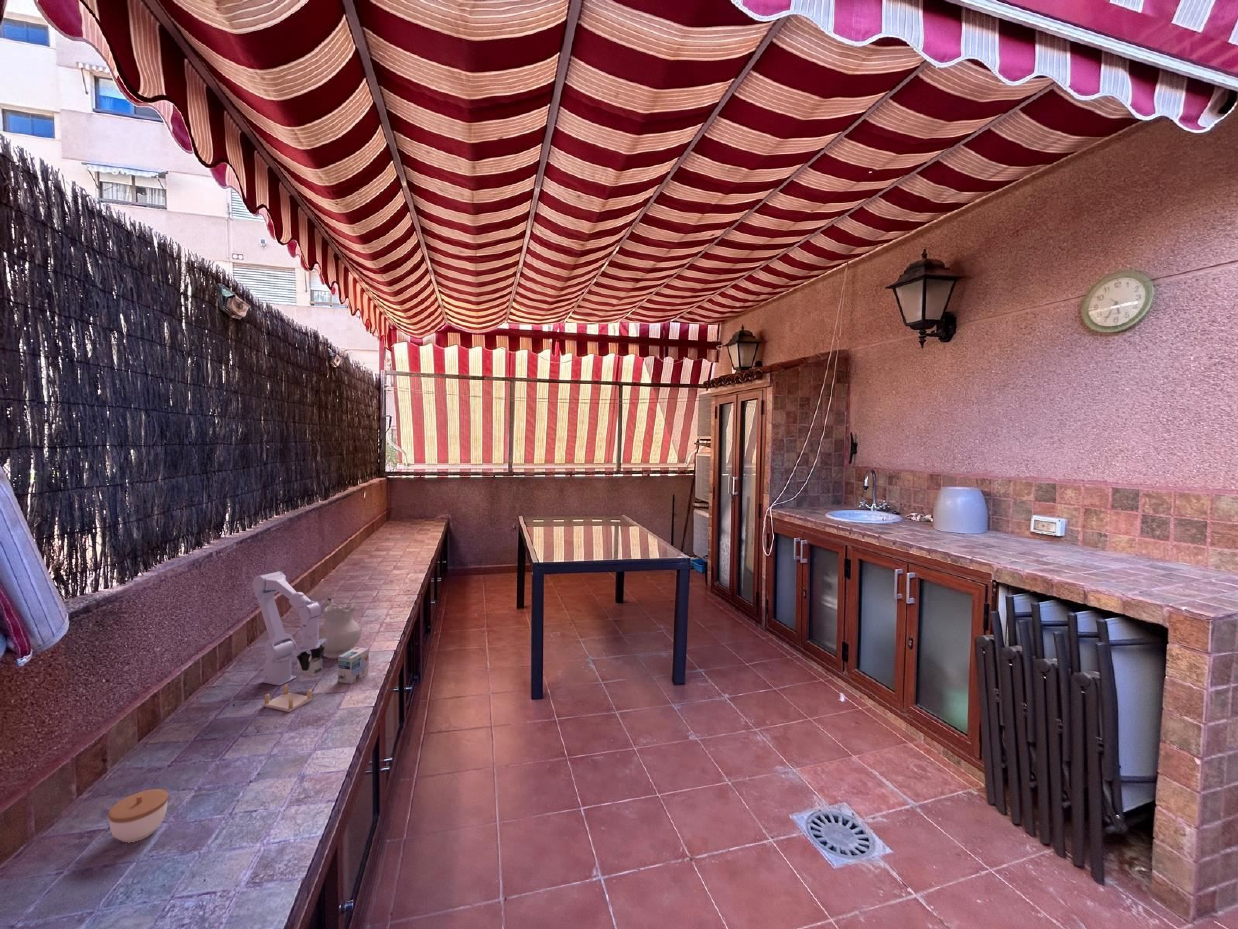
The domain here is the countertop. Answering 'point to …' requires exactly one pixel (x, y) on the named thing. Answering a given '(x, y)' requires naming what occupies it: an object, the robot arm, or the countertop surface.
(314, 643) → the robot arm
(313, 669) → the mauve rectangular box
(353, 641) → the beige vase
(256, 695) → the countertop surface
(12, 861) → the countertop surface
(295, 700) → the wooden peg board
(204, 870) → the countertop surface
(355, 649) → the light bulb box
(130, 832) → the lidded jar
